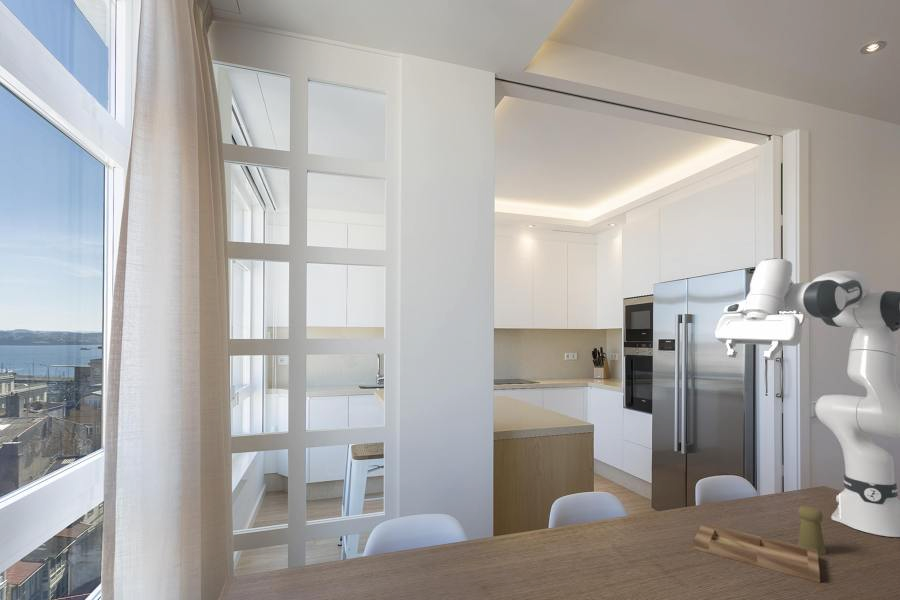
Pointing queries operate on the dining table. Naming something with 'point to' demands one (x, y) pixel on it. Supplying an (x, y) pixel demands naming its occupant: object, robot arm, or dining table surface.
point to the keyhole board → (759, 551)
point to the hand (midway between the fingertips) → (749, 357)
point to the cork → (811, 529)
